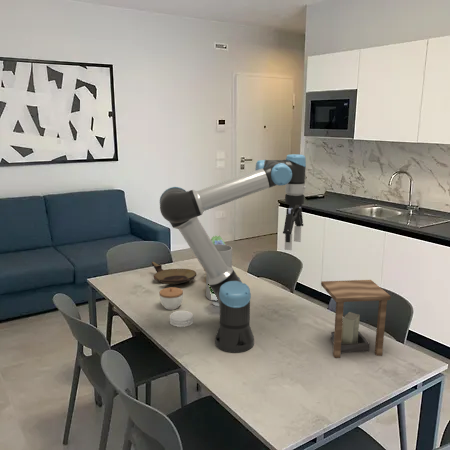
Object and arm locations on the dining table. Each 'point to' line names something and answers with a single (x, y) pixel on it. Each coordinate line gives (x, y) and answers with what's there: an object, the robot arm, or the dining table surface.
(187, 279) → the brown frying pan
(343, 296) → the awning stand
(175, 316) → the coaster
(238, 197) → the robot arm
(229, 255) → the cylinder vase
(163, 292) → the lidded jar
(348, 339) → the skincare box
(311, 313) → the dining table surface
